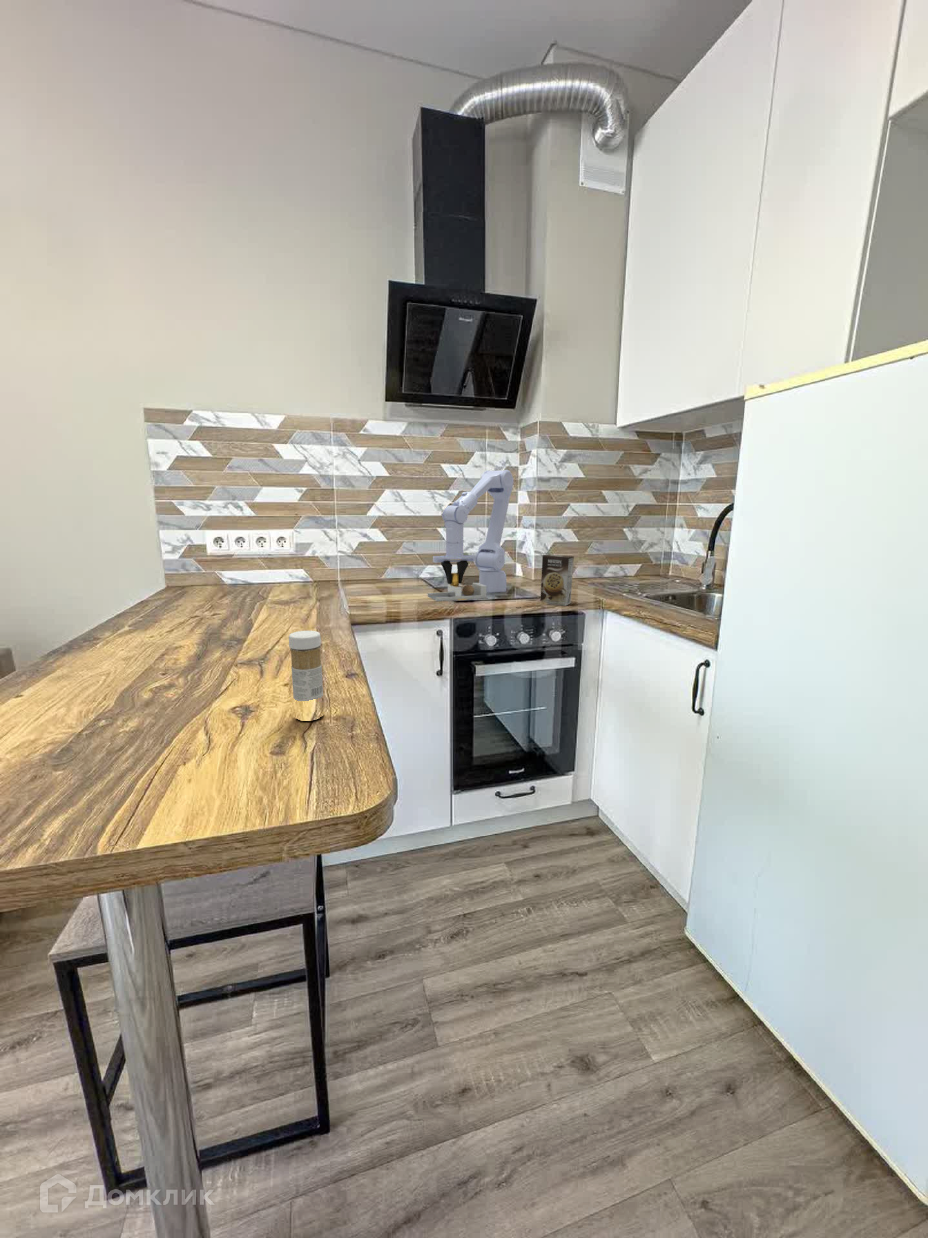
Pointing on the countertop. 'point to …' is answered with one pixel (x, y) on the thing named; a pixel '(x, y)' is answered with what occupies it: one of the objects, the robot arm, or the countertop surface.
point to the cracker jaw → (454, 586)
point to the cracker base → (478, 594)
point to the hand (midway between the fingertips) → (454, 583)
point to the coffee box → (556, 579)
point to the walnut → (468, 590)
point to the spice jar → (306, 665)
